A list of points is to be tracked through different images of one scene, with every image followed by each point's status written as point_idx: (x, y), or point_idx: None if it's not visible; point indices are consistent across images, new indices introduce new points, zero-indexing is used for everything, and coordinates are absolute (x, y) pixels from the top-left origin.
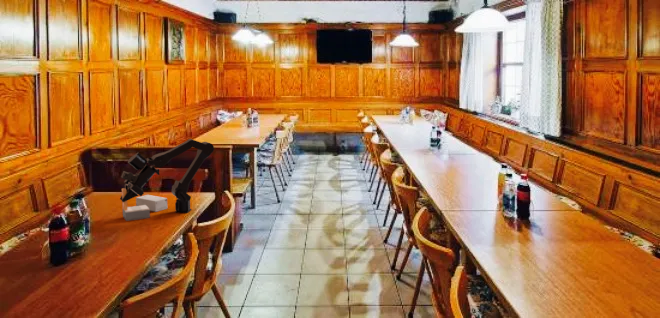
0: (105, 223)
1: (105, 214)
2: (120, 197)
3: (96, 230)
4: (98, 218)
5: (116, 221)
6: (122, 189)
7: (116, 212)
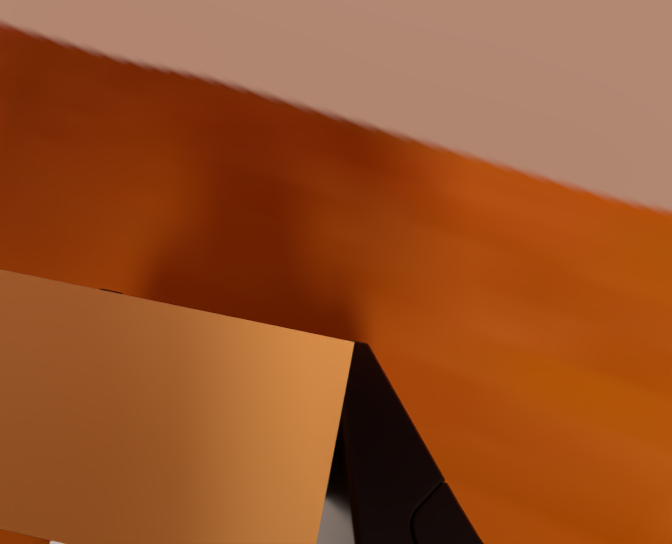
0: (243, 178)
1: (630, 305)
2: (372, 357)
3: (73, 45)
4: (492, 190)
5: (234, 292)
6: (38, 280)
7: (666, 453)
